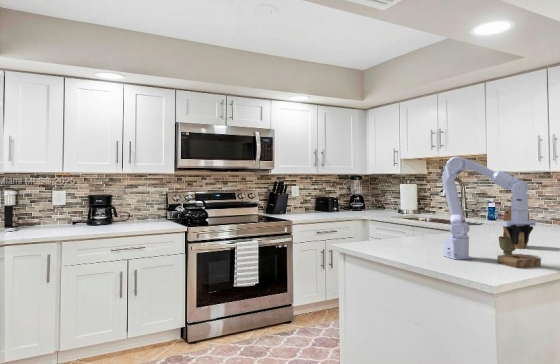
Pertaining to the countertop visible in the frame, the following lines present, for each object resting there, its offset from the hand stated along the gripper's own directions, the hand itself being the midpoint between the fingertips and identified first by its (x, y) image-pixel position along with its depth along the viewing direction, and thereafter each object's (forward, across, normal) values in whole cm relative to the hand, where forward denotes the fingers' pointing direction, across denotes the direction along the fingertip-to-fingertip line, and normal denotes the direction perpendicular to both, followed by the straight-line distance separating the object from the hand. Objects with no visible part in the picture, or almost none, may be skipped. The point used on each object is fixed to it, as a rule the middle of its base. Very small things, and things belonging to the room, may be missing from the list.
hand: (519, 243), depth 152 cm
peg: (+2, 0, 0) cm, 2 cm away
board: (+8, 0, 0) cm, 8 cm away
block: (+9, +32, +32) cm, 46 cm away
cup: (+9, +12, +17) cm, 23 cm away
